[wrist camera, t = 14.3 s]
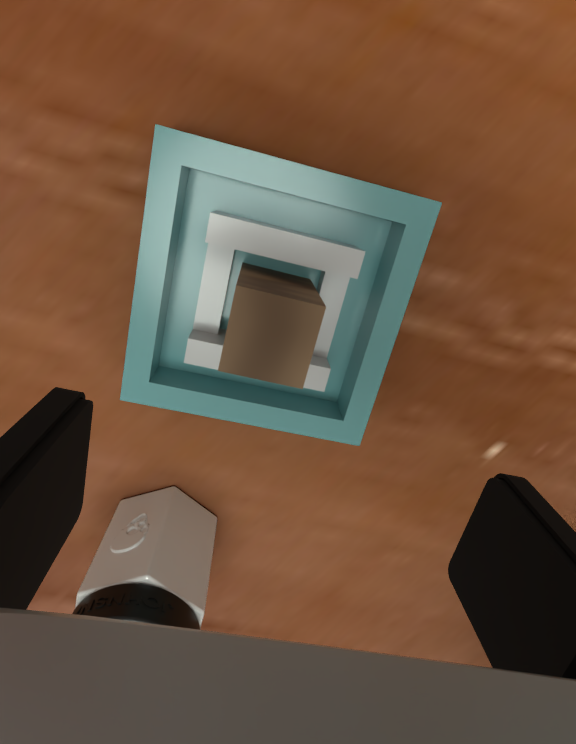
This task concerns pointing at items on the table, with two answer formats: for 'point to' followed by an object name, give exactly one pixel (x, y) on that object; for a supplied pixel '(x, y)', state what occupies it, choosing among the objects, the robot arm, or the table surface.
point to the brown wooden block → (272, 326)
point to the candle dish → (277, 252)
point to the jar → (152, 562)
